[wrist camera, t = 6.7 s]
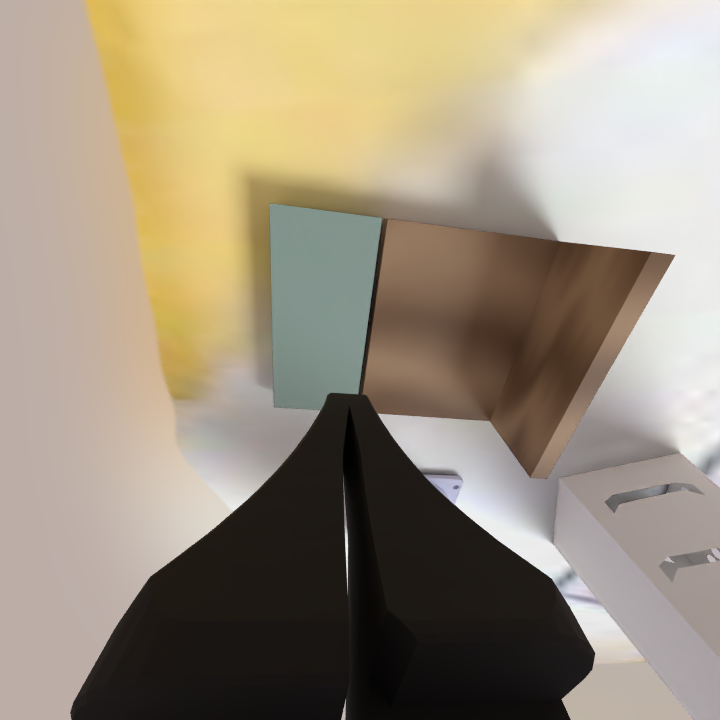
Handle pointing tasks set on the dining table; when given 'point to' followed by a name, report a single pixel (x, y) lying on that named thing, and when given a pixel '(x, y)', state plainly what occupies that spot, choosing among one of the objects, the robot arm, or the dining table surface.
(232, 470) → the dining table surface
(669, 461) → the grater
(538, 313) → the cart bed
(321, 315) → the panel
